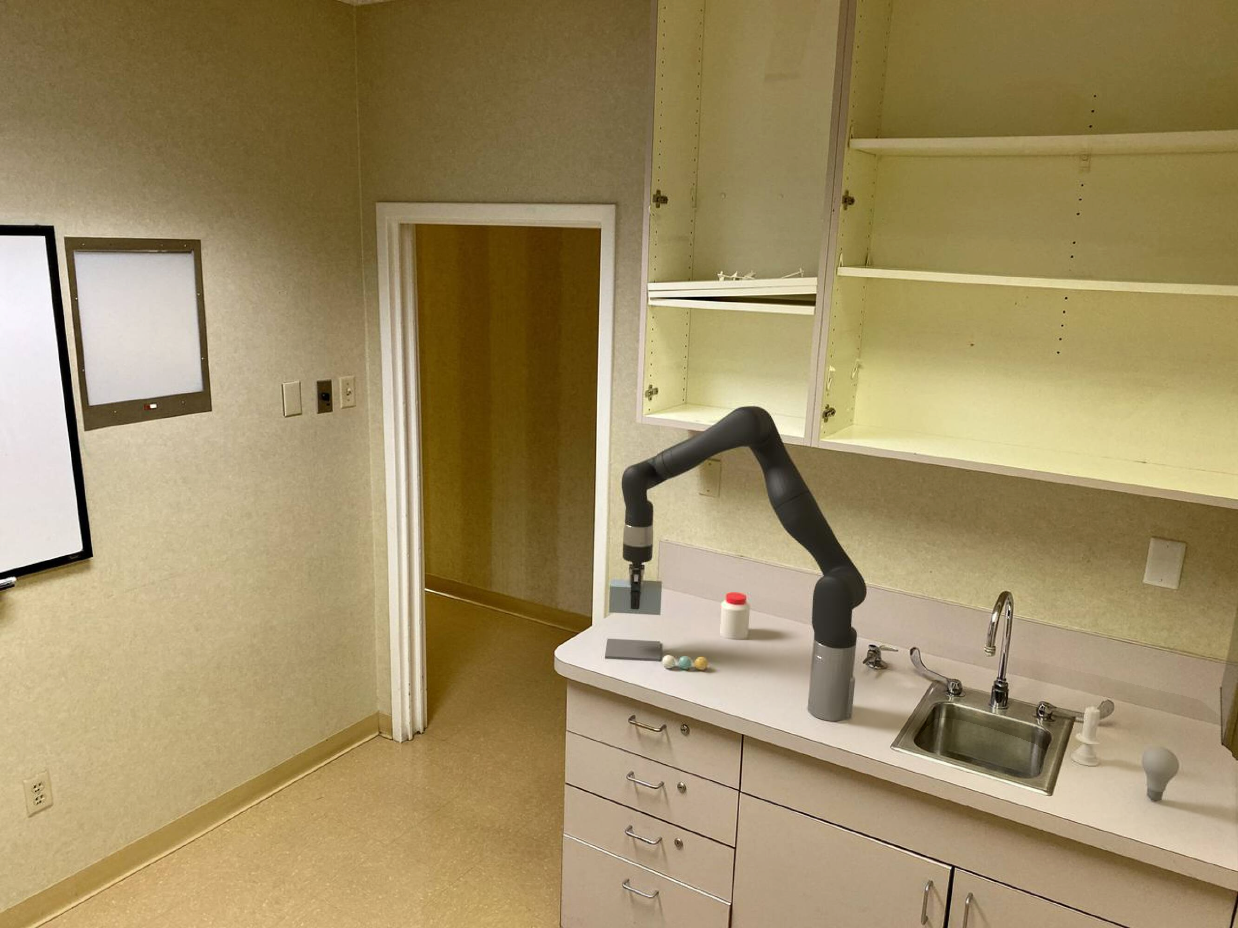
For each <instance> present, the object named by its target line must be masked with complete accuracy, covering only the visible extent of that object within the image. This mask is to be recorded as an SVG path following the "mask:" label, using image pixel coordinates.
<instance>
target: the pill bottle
mask: <svg viewBox="0 0 1238 928" xmlns="http://www.w3.org/2000/svg"><path fill="white" fill-rule="evenodd" d="M750 610H751V605H750V603H748V601H747V595H746V594H744V593H741V592H732V591H731V592H727V593H726V595H725V599H724V600H723V601H722V602H721V604H720V619H719V634H720V636H721V637H723V638H725V639H727V640H736V641H737V640H743V639H744V640H745V639H746V638H747V637H748V636H749V625H750V623H749V622H750V614H751V612H750Z"/></svg>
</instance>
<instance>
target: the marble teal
mask: <svg viewBox="0 0 1238 928" xmlns="http://www.w3.org/2000/svg"><path fill="white" fill-rule="evenodd" d="M691 666H692V659H691V658H690V657H689V656H687V655H683V656H681V657H680V658H679V659H678V667H680V668H681V669H682V670H688V669H690V667H691Z"/></svg>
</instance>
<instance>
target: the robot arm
mask: <svg viewBox="0 0 1238 928" xmlns="http://www.w3.org/2000/svg"><path fill="white" fill-rule="evenodd" d="M743 447H745V448H747V447H748V448H749V449H750V451H751V452H752V454H753V456H754V457H755V459H756V460H757V462H758V464H759V466H760V468H761V470H762V474H763V477H764V482H765V487H766V492H767V496H768V500H769V503H770V505H771V508H772V509H773V512H774V513H775V515H776V516H777V519H778V520H779V522H780V525H781V526H782V527H783V528H784V530H785V531H786V533H788V534H789V536H790V537H791V538H793V539H794V541H796V542H797V543H798V544H799V545H801V546H802V547H803V548H804V549H805V551H807V552H808V553H809V554H810V555H811V557H813V559H814V561H815V562H816V564H817V566H818V567H819V570H820V571H821V573H822V577H820V578H819V579H818V580H817V581H816V583H815V585H814V589H813V593H812V594H813V595H812V608H811V611H812V612H811V626H812V630H813V642H812V643H813V645H812V658H811V666H810V677H809V689H808V699H807V710H808V712H809V713H810V714H811V715H812V716H813V717H816V718H818V719H820V720H825V721H831V722H837V721H838V722H839V721H843V720H847V719H852V717H853V716H852V714H853V706H854V705H853V704H854V697H855V695H854V694H855V684H856V678H855V676H854V669H855V659H856V649H857V639H858V633H857V630H856V629H855V627H853V626H852V618H853V610H854V609H856V608H857V607H859V606H860V605H861V604H862V603H864V601H865V599H866V597H867V585H866V581H865V579H864V577H863V575H862V574H861V573H860V570H859V569H858V568H857V566H856V565H855V564H854V562H853V561H852V559H851V558H850V556H849V555H848V553H846V551H845V550H844V547H842V545H841V544H840V542H839V540H838V539H837V536H836V535H835V533H834V531H833V529H832V528H831V526H830V524H829V523H828V521H827V519H826V517H825V516H824V514H823V512H822V509H821V507H820V506H819V505H818V502H817V501H816V498H815V497H814V495H813V493H812V491H811V490H810V488H809V487H808V485H807V483H806V481H805V480H804V478H803V476H802V475H801V472H800V471H799V470H798V469H799V468H797V466H796V464H795V463H794V461H793V459H792V458H791V456H790V454H789V452H788V451H787V449H786V447H785V444H784V442H783V439H782V437H781V435H780V433H779V429H778V428H777V426H776V423H775V421H774V419H773V417H772V415H771V414H770V413H769V412H768V411H767V410H766V409H765V408H763V407H760V406H756V405H749V406H748V405H745V406H740V407H739V406H738V407H737V408H735V409H734V410H732V411H731V412H729V413H728V414H727V415H725V416H724V417H722V418H721V419H720V420H719V421H717V422H715V423H714V424H713V425H712V426H709V427H708V428H707V429H705V430H704V431H702V432H700V433H697V434H696V435H694V436H692V437H689V438H687V439H685V440H683V441H681V442H678V443H676V444H674V445H672V446H670V447H668V448H666V449H664V450H662V451H660V452H659V453H657V454H656V455H655V456H652V457H650V458H648V459H645V460H643V461H640V462H637V463H634V464H632V465H629V466H628V467H627V468H625V470H624V471H623V474H622V477H621V491H622V496H623V497H622V498H623V502H624V505H625V509H624V511H625V513H624V528H623V534H622V535H623V536H622V558H623V560H624V561H626V562H630V563H629V566H628V574H629V579H628V580H629V585H630V586H631V592H630V594H631V609H639V605H640V594H641V592H640V591H641V586H642V585H643V580H644V575H645V570H646V569H645V565H646V564H643V563H648V562H650V561H651V560H652V559H653V552H654V551H653V550H654V505H653V503H652V502H651V501H650V500H649V499H648V490H650V489H652V488H654V487H656V486H659V485H660V484H662V483H664V482H666V481H667V480H671V479H673V478H676V477H679V476H680V475H683V474H685V473H687V472H689V471H691V470H693V469H695V468H697V467H699V466H700V465H701V464H703V463H704V462H705V461H707V460H709V459H710V458H711V457H714V456H716V455H719V454H721V453H723V452H727V451H729V450H733V449H737V448H743ZM633 588H639V591H636V590H633Z"/></svg>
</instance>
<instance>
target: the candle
mask: <svg viewBox="0 0 1238 928" xmlns="http://www.w3.org/2000/svg"><path fill="white" fill-rule="evenodd" d="M1100 714H1101V711H1100V709H1098V708H1097V707H1095V706H1094V705H1093V706H1087V707H1086V708H1085V711H1084V715H1083V726H1082V731H1081V732H1079V733H1078V732H1077V733H1076V734H1075V739H1077V740H1078V741H1079V742H1081V745H1080V746H1079V747H1078V748H1076V749H1075V751H1074V752H1073V751H1072V753H1071V754H1070V757H1071V759H1072V760H1073V761H1074V762H1076V763H1078V764H1079V765H1082V766H1086V767H1096V766H1099V764H1100V760H1099V759H1098V758H1097V753H1095V752H1094V747H1093V746H1097V745H1100V744H1101V743H1102V741H1101V739H1100V738H1099V737H1098V736H1097V731H1098V726H1099V724H1100V716H1101V715H1100Z"/></svg>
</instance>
